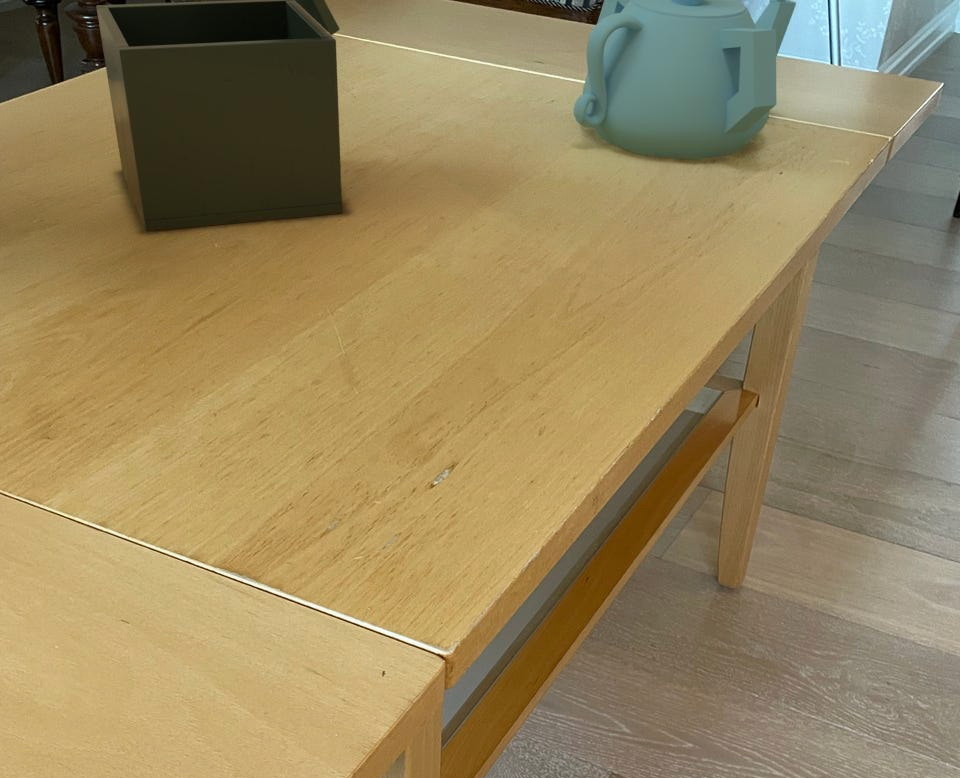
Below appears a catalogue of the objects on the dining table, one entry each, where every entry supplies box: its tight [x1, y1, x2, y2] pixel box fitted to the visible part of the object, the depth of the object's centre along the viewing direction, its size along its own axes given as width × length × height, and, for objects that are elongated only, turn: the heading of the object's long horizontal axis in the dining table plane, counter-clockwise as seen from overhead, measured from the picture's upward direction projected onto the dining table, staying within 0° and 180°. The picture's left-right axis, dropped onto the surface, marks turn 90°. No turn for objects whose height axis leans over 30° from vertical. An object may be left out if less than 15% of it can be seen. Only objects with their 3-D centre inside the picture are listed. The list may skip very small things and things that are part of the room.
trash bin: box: [96, 0, 343, 232], centre depth 92 cm, size 16×14×13 cm
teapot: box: [573, 0, 797, 160], centre depth 108 cm, size 19×19×14 cm
